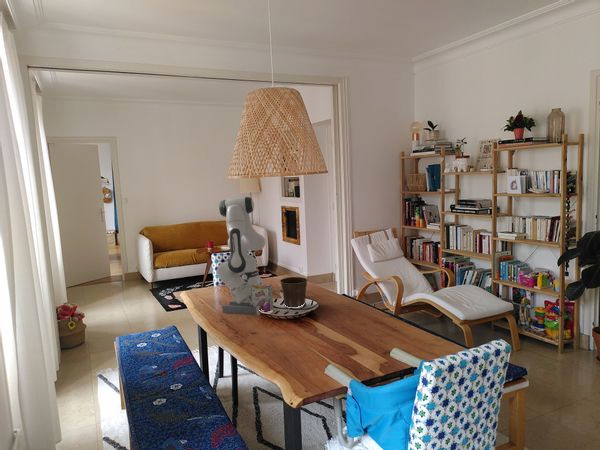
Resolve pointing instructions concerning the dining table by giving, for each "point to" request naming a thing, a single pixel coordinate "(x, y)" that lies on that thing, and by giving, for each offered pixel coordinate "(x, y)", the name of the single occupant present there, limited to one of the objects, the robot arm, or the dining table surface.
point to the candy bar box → (262, 296)
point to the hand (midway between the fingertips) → (253, 303)
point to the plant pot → (294, 291)
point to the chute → (241, 308)
